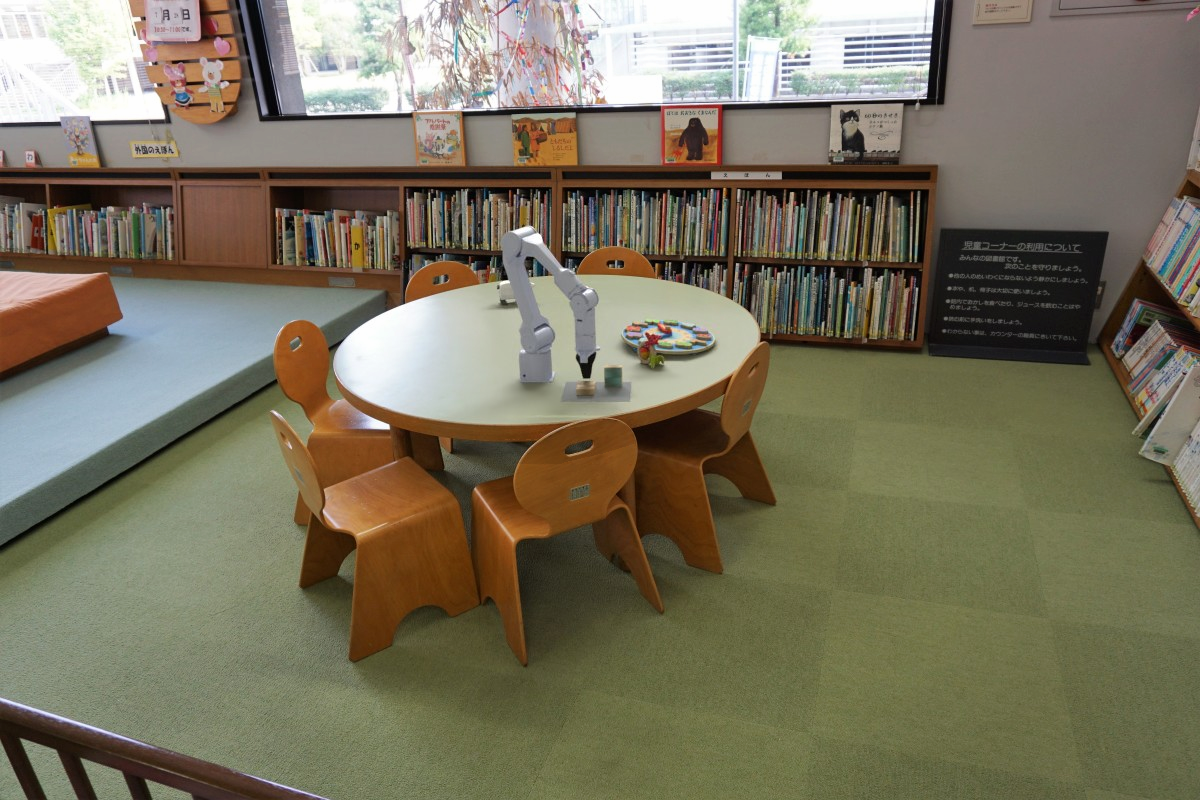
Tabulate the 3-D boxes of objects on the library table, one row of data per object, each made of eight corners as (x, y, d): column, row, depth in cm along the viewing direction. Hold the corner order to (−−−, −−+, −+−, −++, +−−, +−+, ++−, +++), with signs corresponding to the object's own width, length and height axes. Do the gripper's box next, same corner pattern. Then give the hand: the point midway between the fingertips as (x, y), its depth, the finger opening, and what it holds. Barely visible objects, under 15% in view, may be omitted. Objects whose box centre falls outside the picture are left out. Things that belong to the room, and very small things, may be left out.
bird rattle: (636, 373, 246) (657, 368, 239) (625, 338, 245) (646, 332, 238) (649, 367, 250) (670, 362, 244) (638, 333, 249) (659, 327, 242)
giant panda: (498, 306, 308) (496, 281, 304) (497, 302, 313) (495, 278, 309) (536, 302, 311) (535, 278, 307) (534, 299, 316) (533, 275, 312)
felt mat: (560, 402, 222) (560, 401, 222) (565, 383, 235) (565, 382, 235) (629, 402, 221) (629, 401, 221) (631, 383, 234) (631, 381, 233)
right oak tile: (604, 387, 230) (604, 367, 228) (604, 384, 232) (604, 365, 230) (622, 387, 230) (621, 367, 227) (622, 384, 232) (622, 365, 229)
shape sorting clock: (711, 362, 248) (711, 343, 246) (613, 357, 254) (613, 339, 252) (717, 330, 276) (718, 313, 273) (629, 327, 282) (629, 310, 279)
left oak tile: (578, 387, 231) (576, 395, 225) (578, 380, 230) (576, 389, 224) (595, 387, 230) (594, 395, 225) (595, 380, 230) (594, 389, 224)
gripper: (597, 341, 218) (599, 387, 223) (601, 324, 231) (602, 368, 236) (571, 341, 218) (573, 387, 224) (576, 324, 231) (578, 368, 237)
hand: (586, 377), depth 230 cm, fingers closed
